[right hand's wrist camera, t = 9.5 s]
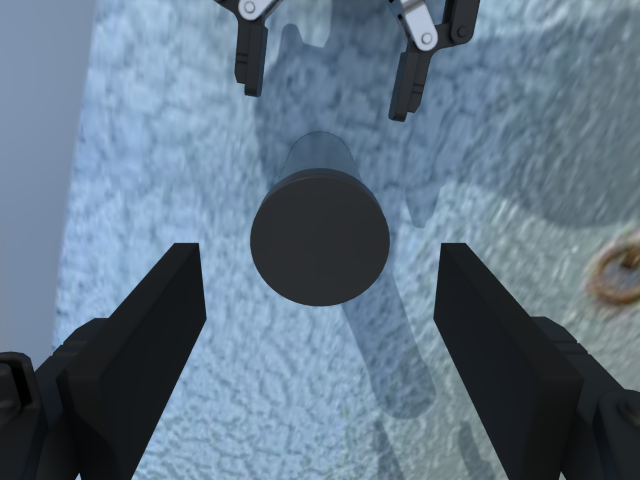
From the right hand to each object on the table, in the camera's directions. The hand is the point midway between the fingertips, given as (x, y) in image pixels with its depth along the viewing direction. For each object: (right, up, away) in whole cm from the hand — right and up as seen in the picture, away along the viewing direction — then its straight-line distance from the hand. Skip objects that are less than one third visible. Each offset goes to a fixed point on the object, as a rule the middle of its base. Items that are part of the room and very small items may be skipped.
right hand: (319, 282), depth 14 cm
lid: (0, +1, +3) cm, 4 cm away
